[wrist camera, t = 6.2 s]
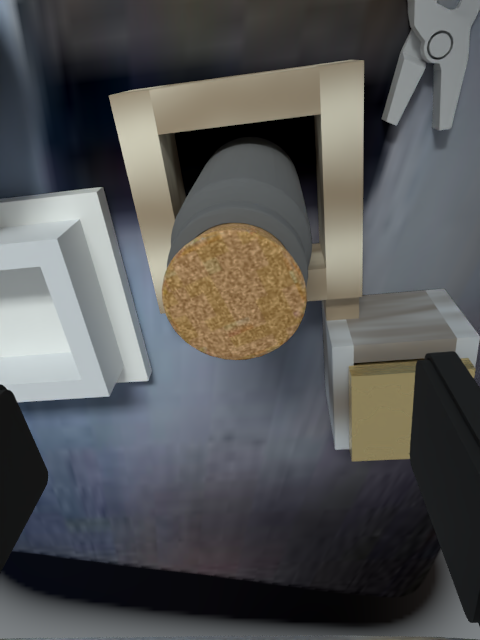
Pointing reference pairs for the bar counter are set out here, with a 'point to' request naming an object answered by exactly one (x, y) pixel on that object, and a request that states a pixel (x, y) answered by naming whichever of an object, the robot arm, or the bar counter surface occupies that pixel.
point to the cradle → (65, 299)
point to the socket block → (333, 210)
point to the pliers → (433, 58)
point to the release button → (383, 408)
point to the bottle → (240, 253)
